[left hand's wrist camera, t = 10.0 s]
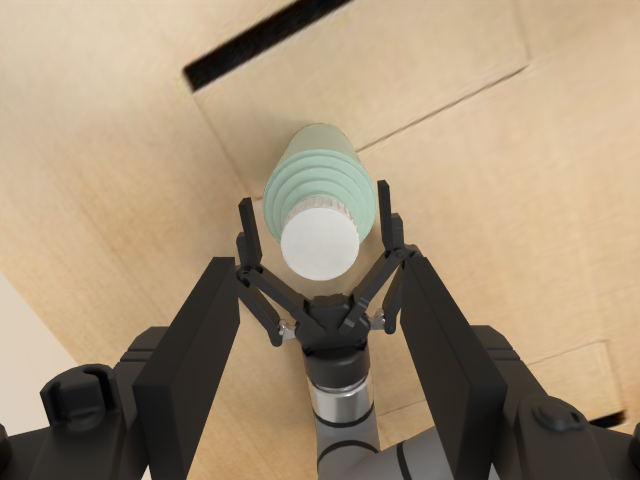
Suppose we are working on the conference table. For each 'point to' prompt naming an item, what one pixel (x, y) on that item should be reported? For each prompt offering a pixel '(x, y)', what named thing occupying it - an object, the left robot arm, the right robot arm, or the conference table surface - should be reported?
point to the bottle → (319, 178)
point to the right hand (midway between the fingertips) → (313, 191)
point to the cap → (319, 239)
